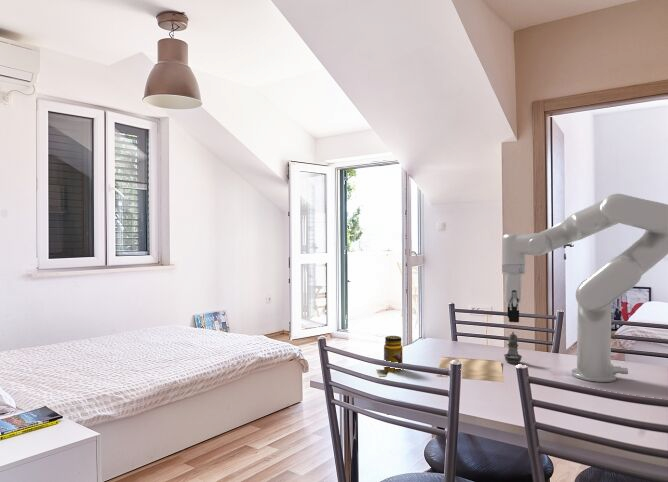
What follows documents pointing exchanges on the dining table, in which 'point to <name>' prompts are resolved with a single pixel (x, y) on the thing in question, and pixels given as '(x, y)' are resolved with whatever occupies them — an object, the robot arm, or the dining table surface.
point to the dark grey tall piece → (512, 350)
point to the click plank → (473, 364)
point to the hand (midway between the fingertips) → (513, 319)
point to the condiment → (391, 354)
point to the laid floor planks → (480, 375)
